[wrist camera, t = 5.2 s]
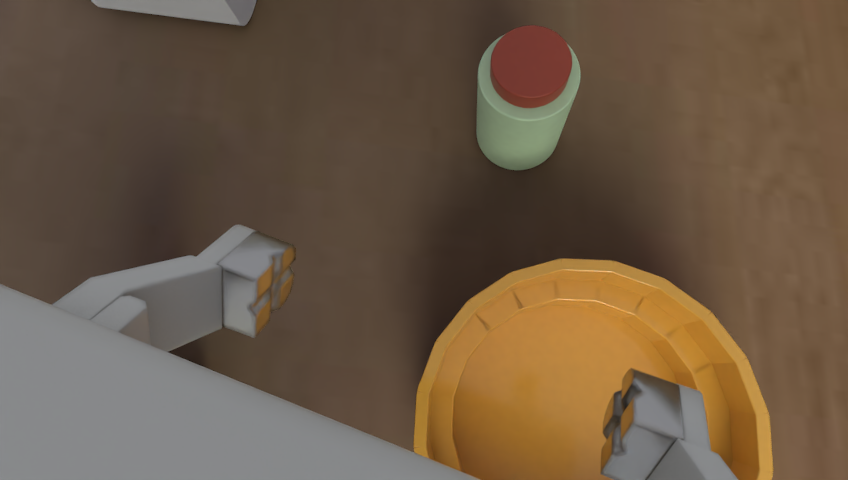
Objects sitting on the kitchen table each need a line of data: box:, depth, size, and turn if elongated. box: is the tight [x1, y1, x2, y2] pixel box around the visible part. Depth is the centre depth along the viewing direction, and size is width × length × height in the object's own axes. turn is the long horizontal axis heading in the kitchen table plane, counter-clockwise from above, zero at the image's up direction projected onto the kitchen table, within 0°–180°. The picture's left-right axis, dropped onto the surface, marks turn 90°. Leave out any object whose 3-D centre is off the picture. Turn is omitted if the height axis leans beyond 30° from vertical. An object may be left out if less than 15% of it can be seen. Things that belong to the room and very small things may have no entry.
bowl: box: [413, 258, 773, 480], centre depth 23 cm, size 13×13×5 cm
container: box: [476, 25, 581, 170], centre depth 26 cm, size 4×4×7 cm
